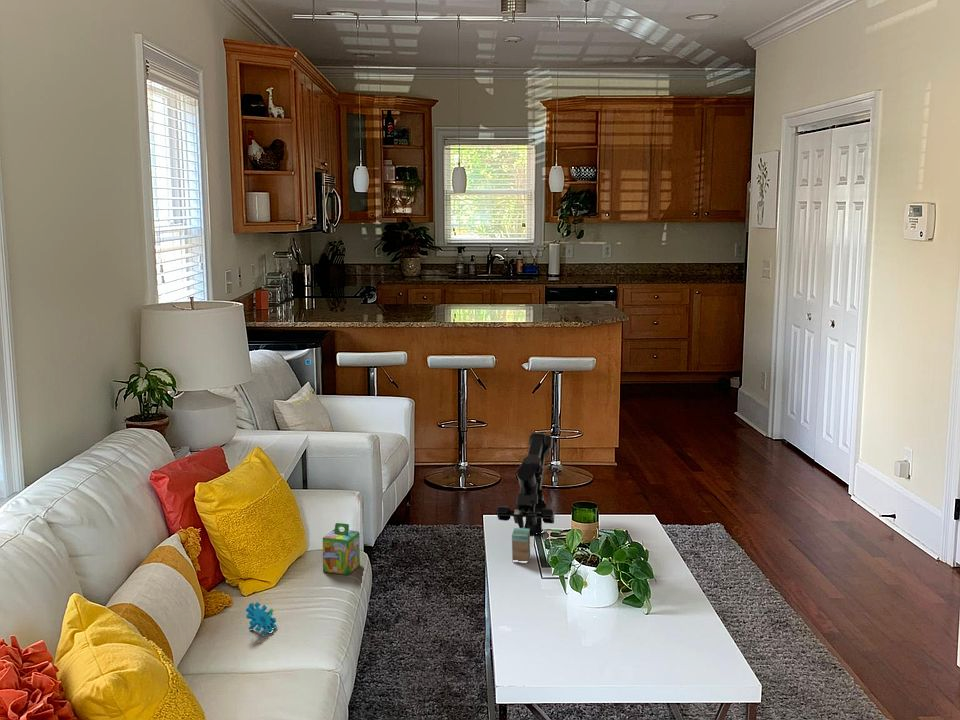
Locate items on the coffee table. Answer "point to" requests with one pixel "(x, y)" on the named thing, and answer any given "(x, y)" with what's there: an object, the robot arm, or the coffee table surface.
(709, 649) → the coffee table surface
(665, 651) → the coffee table surface
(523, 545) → the block
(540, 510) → the robot arm
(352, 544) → the chalk box
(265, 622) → the gear
